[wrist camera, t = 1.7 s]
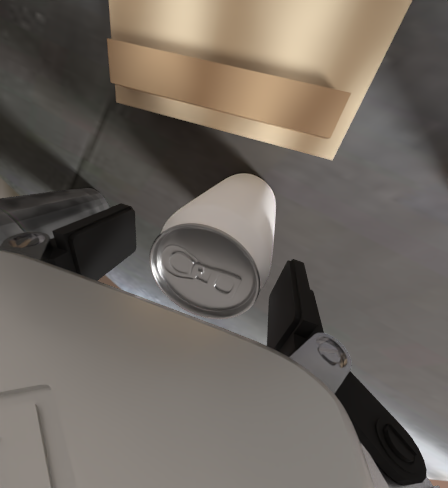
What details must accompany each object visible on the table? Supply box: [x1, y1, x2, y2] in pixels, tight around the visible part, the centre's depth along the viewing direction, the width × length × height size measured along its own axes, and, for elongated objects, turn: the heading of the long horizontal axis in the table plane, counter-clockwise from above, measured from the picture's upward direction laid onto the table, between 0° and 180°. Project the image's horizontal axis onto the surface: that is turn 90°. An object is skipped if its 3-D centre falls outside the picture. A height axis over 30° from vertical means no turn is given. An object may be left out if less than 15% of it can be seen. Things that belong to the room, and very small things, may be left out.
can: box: [150, 173, 276, 319], centre depth 14 cm, size 6×6×12 cm
